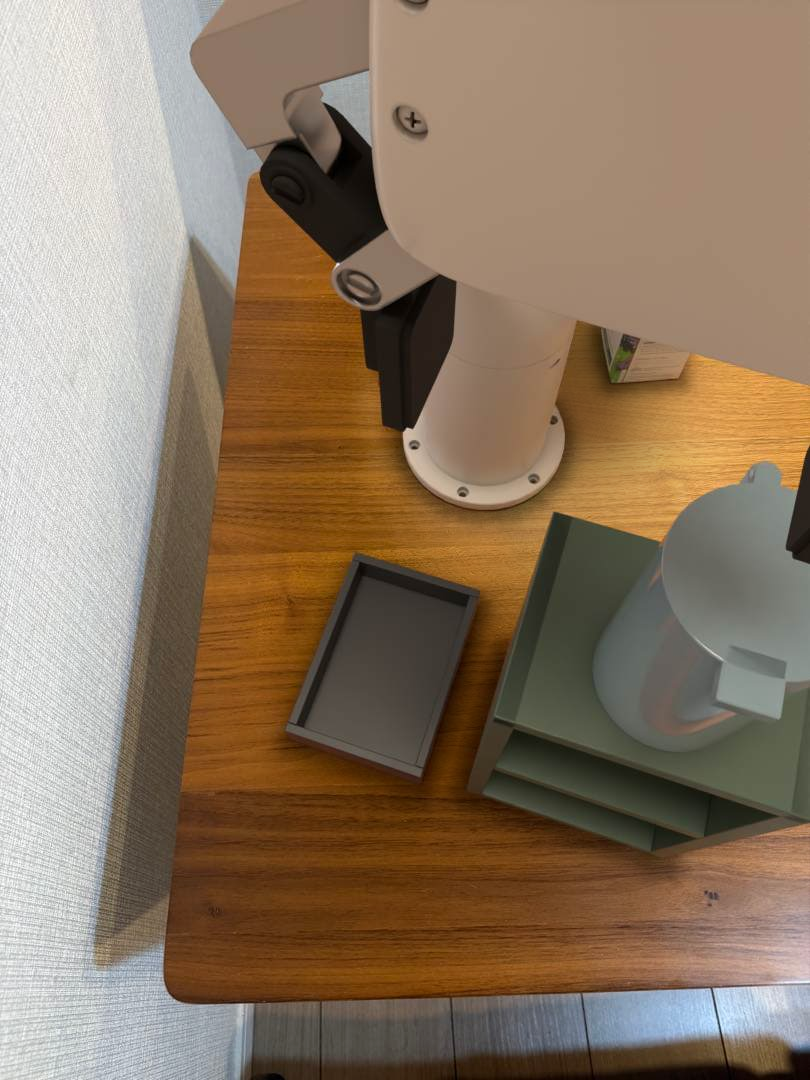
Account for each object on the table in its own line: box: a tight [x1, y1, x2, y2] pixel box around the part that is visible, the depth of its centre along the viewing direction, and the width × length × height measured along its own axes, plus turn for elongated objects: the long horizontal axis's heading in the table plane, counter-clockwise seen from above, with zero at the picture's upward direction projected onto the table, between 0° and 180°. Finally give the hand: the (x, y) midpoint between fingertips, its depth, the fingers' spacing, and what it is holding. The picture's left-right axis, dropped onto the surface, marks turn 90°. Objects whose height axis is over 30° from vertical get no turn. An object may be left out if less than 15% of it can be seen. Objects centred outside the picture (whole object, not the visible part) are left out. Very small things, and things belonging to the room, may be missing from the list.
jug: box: [592, 460, 810, 752], centre depth 30 cm, size 10×6×11 cm, turn 161°
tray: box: [284, 552, 482, 786], centre depth 56 cm, size 13×9×3 cm
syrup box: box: [600, 327, 692, 384], centre depth 62 cm, size 6×6×14 cm
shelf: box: [465, 511, 810, 859], centre depth 45 cm, size 10×13×22 cm
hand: (606, 443), depth 20 cm, fingers open, 9 cm apart
